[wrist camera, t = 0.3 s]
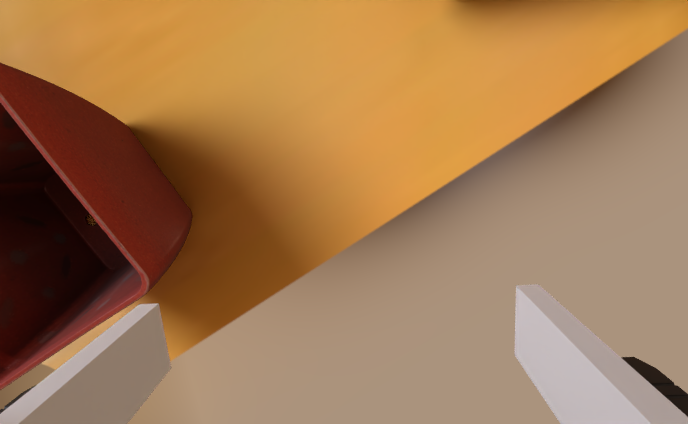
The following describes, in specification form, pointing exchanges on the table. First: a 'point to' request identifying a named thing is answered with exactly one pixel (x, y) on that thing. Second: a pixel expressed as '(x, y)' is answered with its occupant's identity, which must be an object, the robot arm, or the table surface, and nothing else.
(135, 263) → the plant pot
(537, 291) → the robot arm
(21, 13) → the table surface
